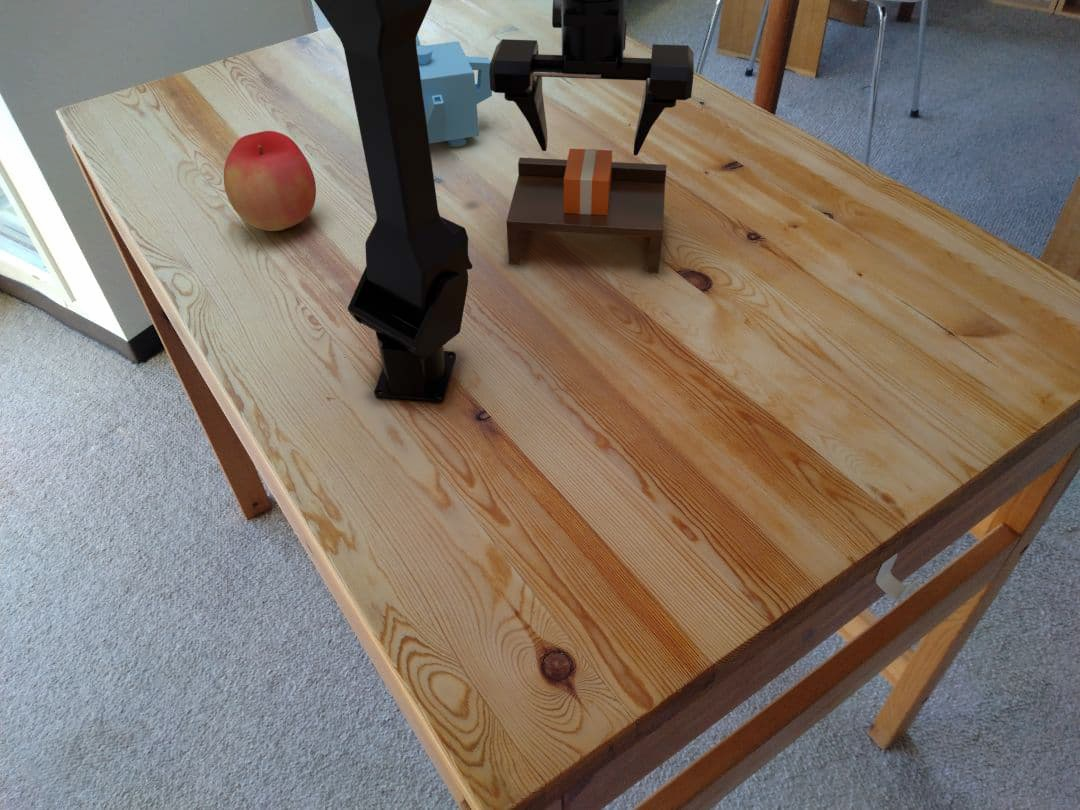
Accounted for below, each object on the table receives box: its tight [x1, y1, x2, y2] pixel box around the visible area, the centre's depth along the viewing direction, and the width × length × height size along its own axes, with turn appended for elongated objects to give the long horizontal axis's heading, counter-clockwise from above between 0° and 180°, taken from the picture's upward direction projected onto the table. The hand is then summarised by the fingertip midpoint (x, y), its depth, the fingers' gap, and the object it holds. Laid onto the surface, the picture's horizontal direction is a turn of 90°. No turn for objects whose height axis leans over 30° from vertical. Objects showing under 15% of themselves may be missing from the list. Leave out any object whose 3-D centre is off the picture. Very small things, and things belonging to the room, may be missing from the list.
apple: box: [223, 130, 317, 232], centre depth 93 cm, size 10×10×10 cm
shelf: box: [505, 157, 668, 274], centre depth 91 cm, size 10×16×7 cm, turn 83°
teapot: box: [416, 34, 493, 148], centre depth 107 cm, size 16×18×11 cm
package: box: [564, 147, 613, 215], centre depth 88 cm, size 6×4×4 cm
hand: (589, 151), depth 86 cm, fingers open, 9 cm apart
